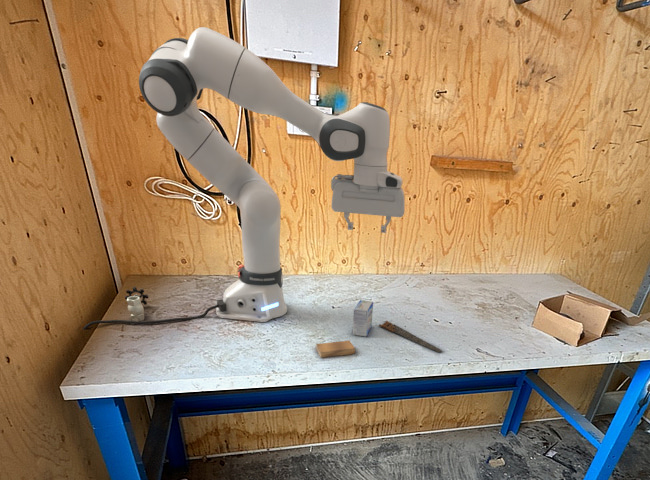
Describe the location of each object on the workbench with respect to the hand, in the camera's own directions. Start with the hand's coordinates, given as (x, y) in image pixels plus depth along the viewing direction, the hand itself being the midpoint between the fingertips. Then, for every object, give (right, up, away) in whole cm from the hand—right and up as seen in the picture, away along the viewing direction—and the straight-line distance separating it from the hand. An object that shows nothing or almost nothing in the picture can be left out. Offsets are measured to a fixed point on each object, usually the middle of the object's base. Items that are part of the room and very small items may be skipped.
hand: (366, 230), depth 123 cm
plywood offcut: (-9, -34, +1) cm, 35 cm away
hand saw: (+13, -29, +12) cm, 34 cm away
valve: (-71, -22, +11) cm, 75 cm away
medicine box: (-2, -27, +13) cm, 30 cm away
